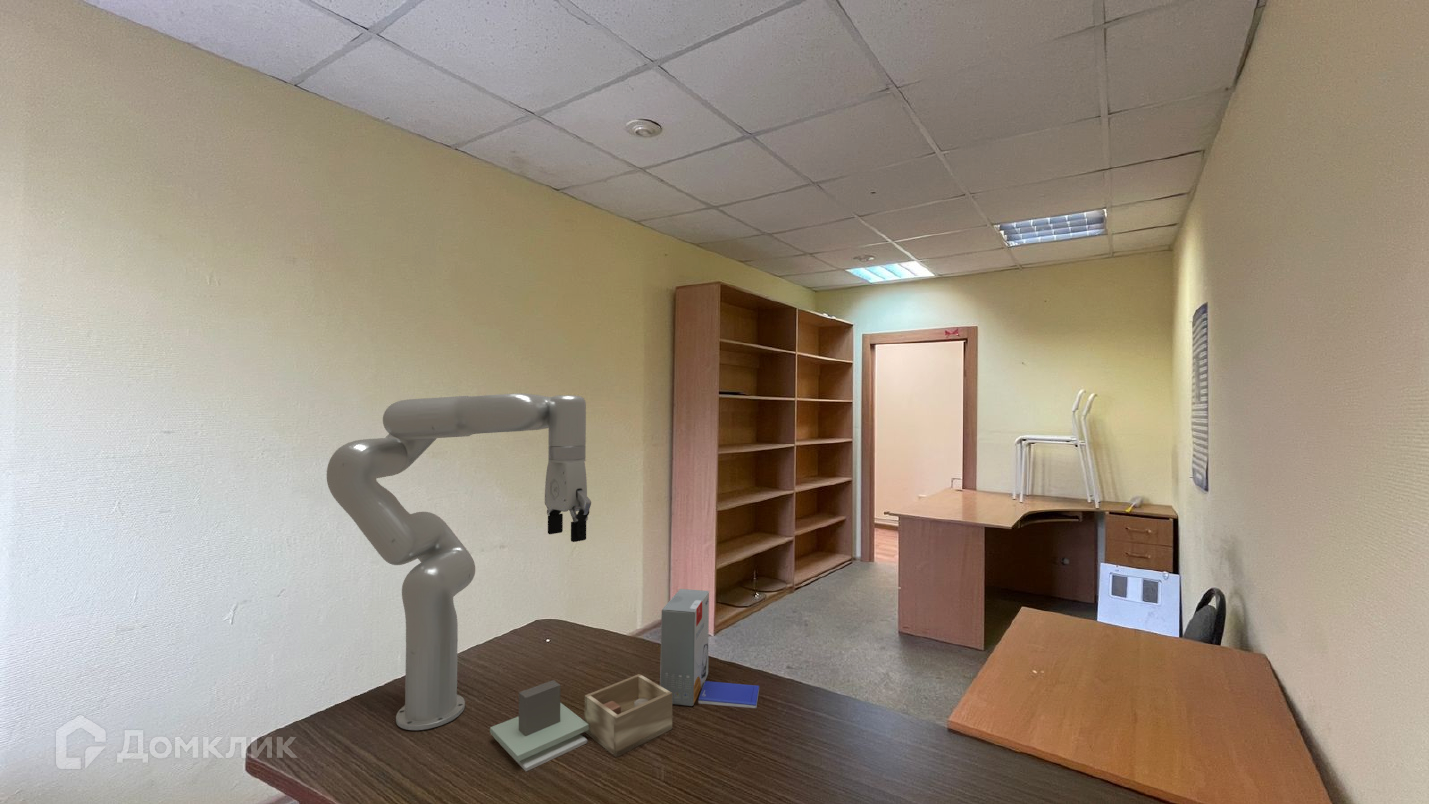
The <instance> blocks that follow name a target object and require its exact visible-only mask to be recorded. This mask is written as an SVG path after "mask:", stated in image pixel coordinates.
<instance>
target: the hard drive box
mask: <svg viewBox="0 0 1429 804" xmlns="http://www.w3.org/2000/svg"><path fill="white" fill-rule="evenodd" d="M709 610H710V591H709V590H700V589H689V588H688V589H686V588H680V589H679V590H678V591H677V592H676V593H675V594H674V595H673V597H672V598H671V599H670V600H669V601H668V602H667V603H666V604H665V606H664V607H663V608H661V615H660V617H661V625H660V627H661V628H660V662H659V663H660V670H659V674H660V675H659V677H660V678H659V686H661V687H663V688H665V689H666V690H668V691H670V692H672V705H678V706H679V705H680V706H689V707H692V706H694V704H695V703H696V701H697V699H698V698H699V695H700V693H701V691H702V688H703V685H704V683H705V681H707V678H708V675H709V631H710V630H709V629H710V627H709V624H710V622H709V621H710V620H709V619H710V616H709V615H710V611H709Z"/></svg>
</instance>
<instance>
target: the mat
mask: <svg viewBox="0 0 1429 804" xmlns="http://www.w3.org/2000/svg"><path fill="white" fill-rule="evenodd" d="M492 736H493V735H492ZM493 738H494V736H493ZM495 741H496V742H497V743H498V744H499V745H500V746H501V747H502V749H504V750H505V751H506V753H508V754H509V756H510V757H511V758H512V759H513V760H514V761H515V762H516V763H517V764H518V765H519V766H520V768H522V769H523V771H525V772H529V771H530V770H532V769H535V768H536V767H539V766H541V765H543V764H545V763H547V762H549V761H552V760H554V759H556V758H559V757H560V756H562V755H564V754H565V755H566V754H567V753H569V752H571V751H573V750H575V749H578V748H579V747H581V746H584V745H585V744H587V743H588V739H587V738H586V737H585V736H583V735H582V733H580V734H578V735H576V736H574V737H572V738H569V739H567V740H565V741H563V742H561V743H558V744H556V745H554V746H552V747H549V748H547V749H545V750H543V751H541V752H538V753H536V754H534V755H532V756H529V757H527V758H525V759H523V760H521V761H518V762H517V761H516V760H515V759H514V758H513V757H512V755H511V754H510V753H509V752H508V751H507V750H506V749H505V748H504V747H503V746H502V745H501V744H500V743H499V742H498V741H497V740H496V739H495Z"/></svg>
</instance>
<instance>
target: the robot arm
mask: <svg viewBox="0 0 1429 804" xmlns="http://www.w3.org/2000/svg"><path fill="white" fill-rule="evenodd" d="M586 410H587V403H586V400H585V398H584V397H583V396H580V395H570V394H568V395H567V394H566V395H563V394H562V395H561V394H560V395H554V396H546V395H539V394H532V393H522V392H521V393H520V392H519V393H504V394H502V393H501V394H500V393H499V394H485V395H484V394H483V395H474V396H473V395H472V396H471V395H470V396H469V395H459V396H445V397H429V398H427V397H425V398H410V399H409V398H408V399H401V400H398V401H395V402H393V403H391V405H389V406H388V407H387V408H386V409H385V410H384V413H383V417H382V424H383V427H384V429H385V431H386V432H387V433H388V434H387V435H386V436H385V437H382V438H381V437H380V438H379V437H378V438H366V439H365V438H363V439H357V440H353V441H350V442H347V443H345V444H343V445H341V446H340V447H338V448H337V449H336V450H335V451H334V453H333V454H332V455H331V457H330V458H329V460H328V464H327V466H326V467H327V469H326V483H327V486H328V489H329V491H330V494H331V495H332V497H333V498H334V499H335V501H336V503H338V505H339V506H340V507H341V508H342V509H343V510H344V511H345V513H347V515H348V516H349V517H350V518H351V519H352V520H353V522H354V523H355V524H356V526H357V527H358V529H359V530H360V531H361V532H362V533H363V534H362V535H364V537H366V539H367V541H369V543H370V544H371V545H372V547H373V548H374V550H375V551H376V553H378V555H380V557H381V558H382V559H383V560H384V561H385V562H386V563H387V564H389V565H392V566H403V565H405V564H409V563H410V562H413V561H415V560H417V559H418V561H420V563H418V564H417V565H415V566H414V567H413V568H412V569H410V571H409V572H408V573H407V574H406V576H405V577H404V580H403V582H402V587H401V597H402V598H401V599H402V604H403V609H404V615H405V678H404V679H405V680H404V681H405V683H404V684H405V685H404V687H405V688H404V689H405V690H404V700H405V701H404V705H403V706H402V707H400V709H399V710H398V711H397V713H396V714H395V715H396V716H395V724H396V725H397V726H398V728H401V729H403V730H408V731H424V730H430V729H434V728H437V727H441V726H444V725H446V724H448V723H450V722H452V721H454V720H455V719H456V718H458V717H459V716H460V715H461V714H463V712H464V710H465V708H466V707H465V706H466V701H465V698H464V697H463V696H461V695H460V694H457V693H458V692H457V690H458V639H459V638H458V629H459V628H458V624H459V623H458V616H457V610H456V608H455V603H454V597H455V596H456V595H458V594H459V593H460V592H462V591H463V590H464V589H466V588H467V587H468V586H469V585H470V584H471V583H472V581H473V580H474V579H475V578H474V577H475V575H476V564H475V561H474V558H473V556H472V555H471V553H470V552H469V551H468V549H467V548H466V547H465V545H464V544H463V543H462V542H461V540H460V539H459V538H458V536H457V535H456V534H455V533H454V531H453V530H452V529H451V528H450V526H449V525H448V523H446V521H444V519H442V518H441V517H440V516H438V515H437V514H435V513H432V512H429V511H417V512H413V513H410V512H409V511H408V510H407V509H406V507H404V506H403V505H402V504H401V503H400V501H399V499H398V498H397V497H396V496H395V495H394V494H393V493H392V492H391V491H390V490H388V489H387V488H386V487H385V486H383V485H381V484H380V483H379V481H378V480H377V479H380V478H381V479H382V478H385V477H391V476H392V477H393V476H395V475H399V474H400V473H402V472H404V471H406V470H407V469H409V467H410V466H412V464H414V462H416V460H417V459H418V458H420V456H421V455H422V454H424V453H425V451H426V450H428V448H429V447H430V446H431V445H432V444H434V442H435V441H436V440H437V439H447V438H464V437H470V436H472V435H477V434H492V433H494V434H495V433H496V434H497V433H510V432H511V433H512V432H513V433H514V432H525V431H527V432H528V431H538V430H545V429H546V430H547V429H548V444H547V445H548V447H547V448H548V450H547V451H548V453H547V454H548V460H547V461H548V462H547V467H546V474H545V482H544V483H545V484H544V485H545V486H544V505H545V506H546V508H547V509H546V514H547V534H548V535H554V534H561V533H563V532H564V530H563V528H564V527H563V525H564V522H563V521H564V519H563V516H564V515H563V513H565V512H568V511H569V514H570V516H571V518H572V521H570V541H571V542H573V543H575V542H582V541H586V539H587V521H588V519H589V517H588V516H589V515H590V509H591V507H592V506H591V505H592V501H591V499H590V498H589V497H588V485H587V483H588V482H587V480H588V479H587V471H586V464H585V462H586V461H587V459H586V454H587V453H586V447H587V446H586V442H587V441H586V439H587V437H586V435H587V433H586V429H587V422H586V421H587V416H586V415H587V411H586ZM561 512H562V513H561Z"/></svg>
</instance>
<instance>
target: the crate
mask: <svg viewBox="0 0 1429 804" xmlns="http://www.w3.org/2000/svg"><path fill="white" fill-rule="evenodd" d="M584 721H585V722H586V723H588V724H589V730H587V731H585V732H584V733H585V734H586V735H588V737H590V738H591V739H593V740H594V741H595V742H597V744H599V745H600V746H601V747H603V748H604V750H606V751H608V753H610V754H611V755H613V757H615V758H619V757H620V756H622V755H624V754H627V753H628V752H630V751H632V750H634V749H636V748H638V747H640V746H642V745H644V744H645V743H648V742H650V741H652V740H654V739H656V738H658V737H660V736H661V735H663V734H666V733H668V732H669V731H671V730H673V704H672V692H670V691H668V690H666V689H665V688H663V687H661V686H660V684H657V683H656V682H654V681H652V680H651V679H649V678H647V677H646V676H644V675H642V674H641V673H638V674H635V675H633V676H631V677H628V678H626V679H623V680H620V681H618V682H615V683H613V684H611V685H610V684H609V685H607V686H605V687H603V688H600V689H598V690H595V691H593V692H590V693H587V694H585V695H584Z"/></svg>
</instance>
